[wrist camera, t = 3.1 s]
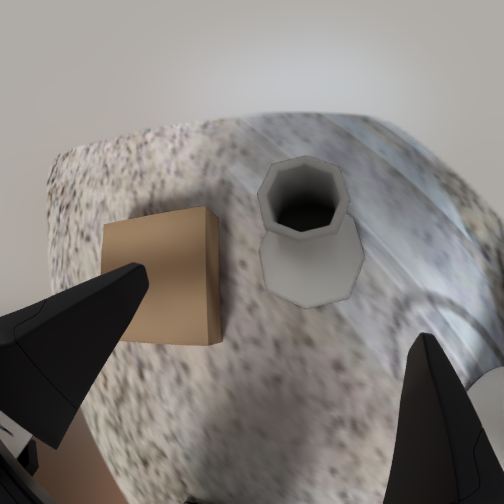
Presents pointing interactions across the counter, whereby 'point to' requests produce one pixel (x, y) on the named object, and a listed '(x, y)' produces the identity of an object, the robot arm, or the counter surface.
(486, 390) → the pill bottle
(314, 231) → the flask
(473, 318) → the counter surface
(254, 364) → the counter surface
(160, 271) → the square wooden block
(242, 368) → the counter surface
